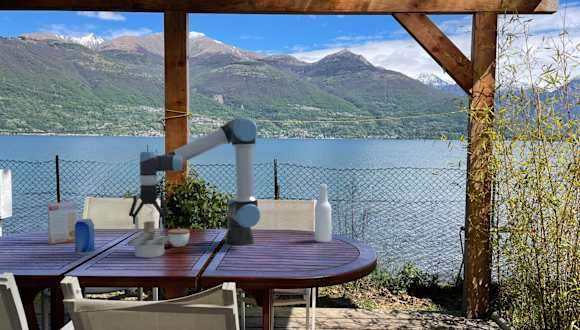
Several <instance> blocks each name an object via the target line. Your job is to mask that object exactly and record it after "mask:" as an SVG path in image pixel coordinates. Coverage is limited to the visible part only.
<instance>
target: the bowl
mask: <svg viewBox="0 0 580 330" xmlns="http://www.w3.org/2000/svg"><path fill="white" fill-rule="evenodd" d="M164 254H165V243H164V244H163V245H134V256H135V257H137V258H154V257H155V258H156V257H160V256H161V257H162V256H163V255H164Z"/></svg>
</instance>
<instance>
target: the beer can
mask: <svg viewBox="0 0 580 330" xmlns="http://www.w3.org/2000/svg"><path fill="white" fill-rule="evenodd" d="M74 243H75V244H74V247H75V248H74V249H75V250H74V252H75V253H76V255H78V256H87V255H88V254H89V255H92V254H93V253H94V252H95V224H94V223H93V220H92V218H91V219H90V218H82V219H78V220H77V222H76V224H75V242H74Z"/></svg>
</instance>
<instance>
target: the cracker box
mask: <svg viewBox="0 0 580 330" xmlns="http://www.w3.org/2000/svg"><path fill="white" fill-rule="evenodd" d="M46 205H47V206H46V207H47V227H48V228H47V230H48V244H49V245H60V244H61V245H62V244H69V243H75V224H76V222H77V220H79V212H78V211H79V210H78V209H79V207H78V202H77V201H68V202H67V201H66V202H52V203H47V204H46Z"/></svg>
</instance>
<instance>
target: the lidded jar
mask: <svg viewBox="0 0 580 330" xmlns="http://www.w3.org/2000/svg"><path fill="white" fill-rule="evenodd" d="M190 232H191V231H190V229H187V228H181V227H180V226H178V227H177V228H173V229H169V230H168V231H167V233H168V235H167V236H170V239H169V240H168V241H169V243H170V244H171V245H172V247H174V248H180V247H181V246H182V247H186V245H187V243H189V241H190Z"/></svg>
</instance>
